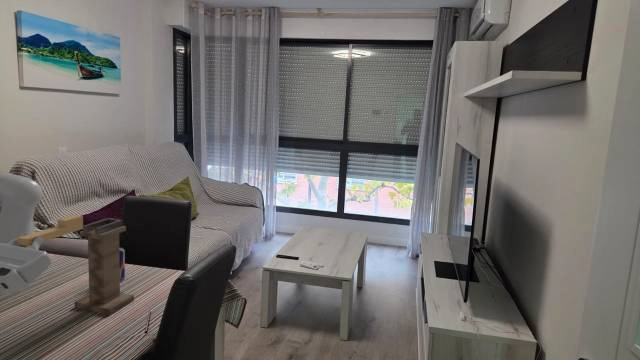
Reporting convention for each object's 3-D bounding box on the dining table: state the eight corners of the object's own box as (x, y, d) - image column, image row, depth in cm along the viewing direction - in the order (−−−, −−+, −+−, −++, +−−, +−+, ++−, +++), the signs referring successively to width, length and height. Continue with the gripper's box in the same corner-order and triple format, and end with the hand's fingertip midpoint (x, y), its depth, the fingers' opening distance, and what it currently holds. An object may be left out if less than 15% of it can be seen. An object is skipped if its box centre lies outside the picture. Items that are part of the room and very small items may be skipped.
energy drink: (118, 283, 154) (118, 253, 152) (106, 281, 155) (105, 251, 153) (127, 277, 159) (127, 248, 157) (115, 275, 160) (115, 246, 158)
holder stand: (74, 307, 134) (72, 224, 130) (100, 293, 145) (98, 216, 140) (110, 315, 131) (109, 230, 126) (133, 300, 142) (133, 221, 137)
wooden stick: (18, 244, 107) (17, 230, 106) (74, 227, 124) (74, 214, 123) (27, 246, 106) (26, 231, 105) (83, 228, 123) (82, 216, 123)
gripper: (-35, 278, 103) (10, 239, 114) (29, 293, 99) (69, 250, 109) (-51, 262, 99) (-3, 223, 110) (15, 276, 95) (59, 234, 105)
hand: (34, 236), depth 109 cm, fingers closed on wooden stick, 3 cm apart
